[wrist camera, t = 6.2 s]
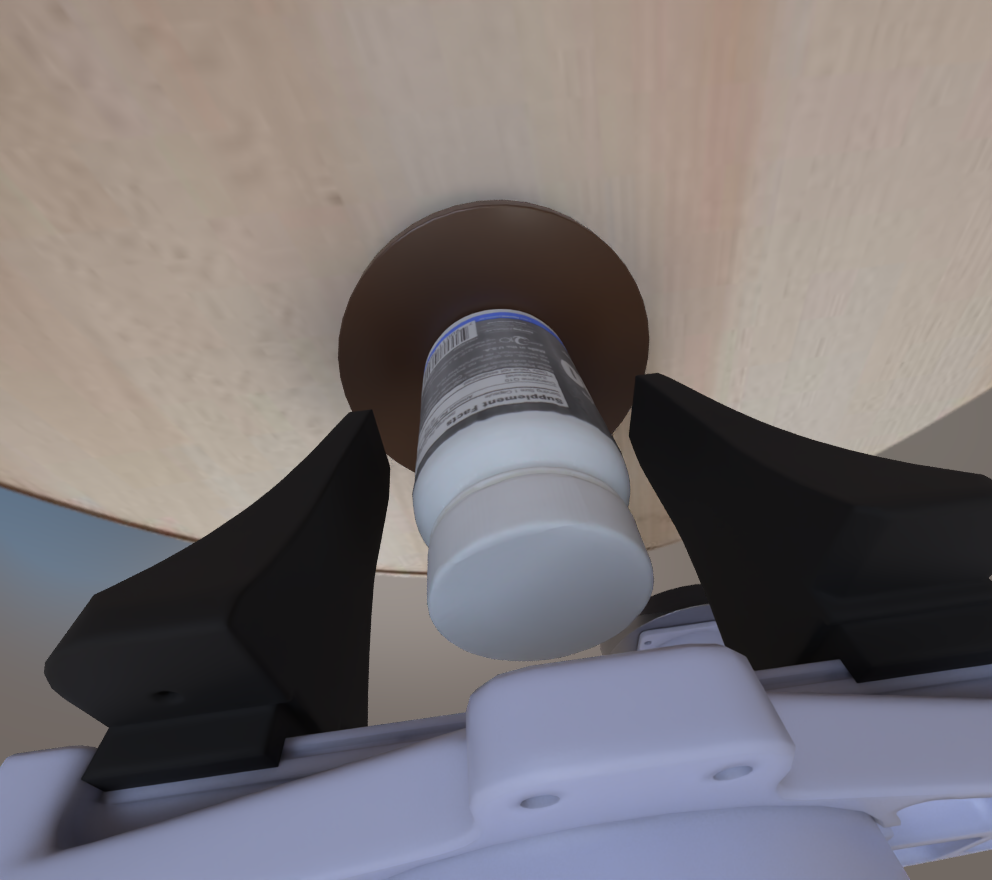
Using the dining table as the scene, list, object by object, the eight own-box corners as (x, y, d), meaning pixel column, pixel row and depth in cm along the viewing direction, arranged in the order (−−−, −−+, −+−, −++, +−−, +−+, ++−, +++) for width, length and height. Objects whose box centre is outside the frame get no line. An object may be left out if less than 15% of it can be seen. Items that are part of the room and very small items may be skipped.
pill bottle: (572, 421, 16) (668, 651, 9) (442, 445, 16) (441, 691, 9) (563, 289, 13) (693, 483, 6) (405, 320, 13) (363, 543, 6)
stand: (614, 434, 19) (633, 471, 17) (388, 464, 19) (382, 504, 17) (637, 172, 13) (671, 182, 11) (310, 211, 13) (286, 228, 11)
